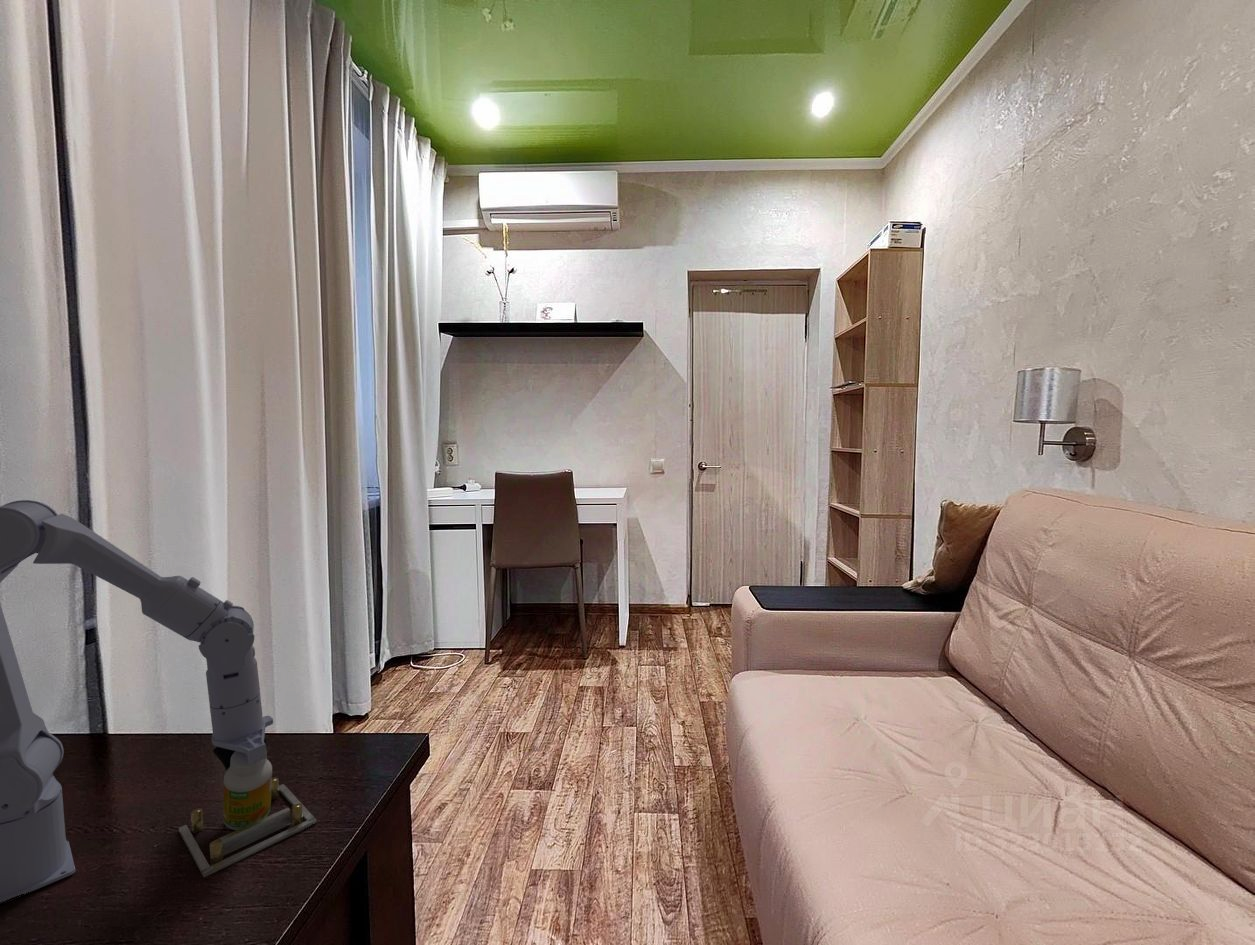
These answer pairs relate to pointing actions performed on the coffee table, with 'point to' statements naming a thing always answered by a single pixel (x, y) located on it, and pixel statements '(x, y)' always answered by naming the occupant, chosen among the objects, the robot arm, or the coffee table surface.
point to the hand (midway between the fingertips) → (245, 792)
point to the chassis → (247, 833)
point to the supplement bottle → (246, 791)
